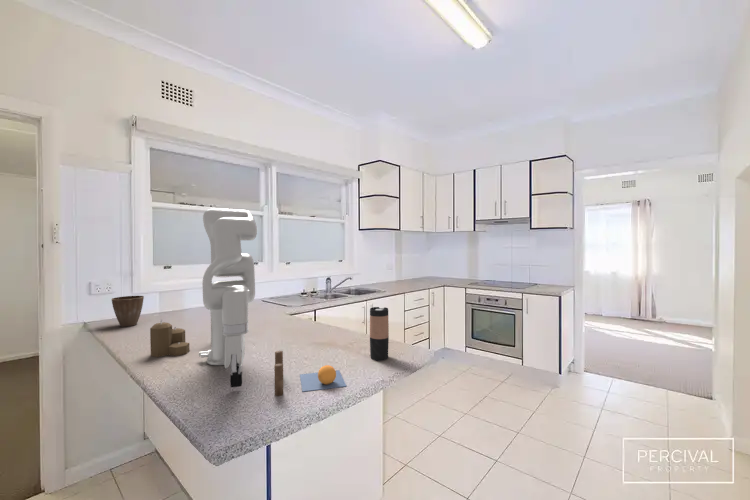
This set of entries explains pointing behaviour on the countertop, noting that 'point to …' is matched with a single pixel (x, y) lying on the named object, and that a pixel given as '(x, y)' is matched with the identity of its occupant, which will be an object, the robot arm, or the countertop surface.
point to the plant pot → (127, 309)
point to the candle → (167, 340)
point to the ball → (326, 374)
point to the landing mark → (313, 383)
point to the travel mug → (379, 333)
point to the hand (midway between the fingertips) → (236, 385)
